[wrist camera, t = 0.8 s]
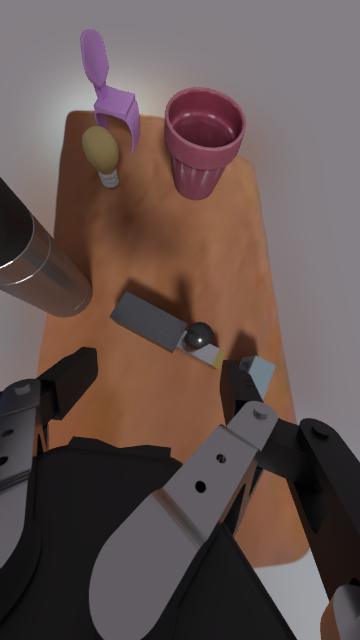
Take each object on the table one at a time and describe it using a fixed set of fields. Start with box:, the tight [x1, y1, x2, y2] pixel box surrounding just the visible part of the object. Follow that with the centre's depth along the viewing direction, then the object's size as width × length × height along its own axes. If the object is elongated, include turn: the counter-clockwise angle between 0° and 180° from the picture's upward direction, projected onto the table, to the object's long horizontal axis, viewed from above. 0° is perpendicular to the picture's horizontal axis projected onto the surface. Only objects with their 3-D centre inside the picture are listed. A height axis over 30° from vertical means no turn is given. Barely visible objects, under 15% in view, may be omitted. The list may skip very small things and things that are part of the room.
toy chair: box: [81, 29, 140, 154], centre depth 39 cm, size 8×9×15 cm
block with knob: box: [175, 322, 226, 369], centre depth 29 cm, size 18×3×12 cm, turn 62°
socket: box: [238, 355, 275, 400], centre depth 33 cm, size 4×6×6 cm, turn 152°
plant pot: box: [165, 87, 246, 200], centre depth 39 cm, size 14×14×13 cm
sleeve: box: [110, 291, 188, 353], centre depth 34 cm, size 12×5×5 cm, turn 62°
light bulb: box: [82, 126, 119, 188], centre depth 38 cm, size 6×6×10 cm
